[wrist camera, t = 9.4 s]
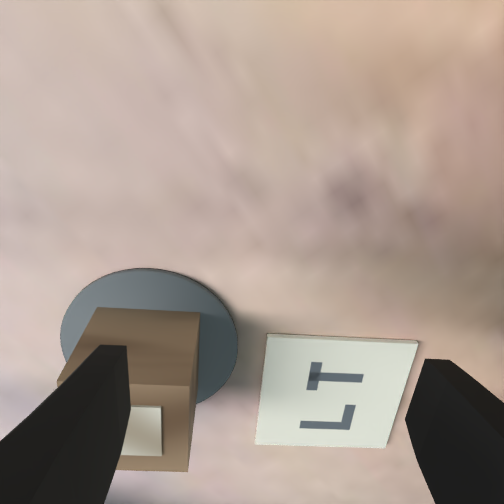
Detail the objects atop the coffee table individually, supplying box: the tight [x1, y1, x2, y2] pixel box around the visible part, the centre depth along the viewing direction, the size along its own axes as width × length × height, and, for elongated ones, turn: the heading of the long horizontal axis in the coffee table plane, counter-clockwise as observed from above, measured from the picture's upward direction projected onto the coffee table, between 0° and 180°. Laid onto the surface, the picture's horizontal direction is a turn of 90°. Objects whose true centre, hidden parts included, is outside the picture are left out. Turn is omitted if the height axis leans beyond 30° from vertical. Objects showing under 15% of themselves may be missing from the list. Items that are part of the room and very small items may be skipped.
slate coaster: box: [60, 268, 237, 404], centre depth 22 cm, size 9×9×1 cm
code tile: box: [255, 334, 418, 448], centre depth 24 cm, size 8×8×1 cm
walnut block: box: [57, 307, 200, 472], centre depth 19 cm, size 5×5×5 cm
